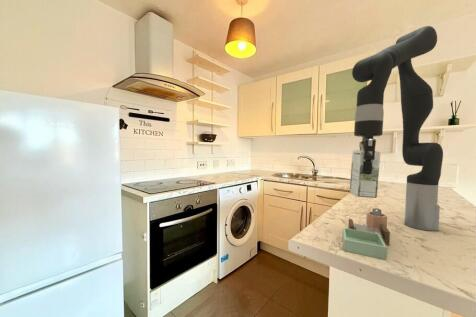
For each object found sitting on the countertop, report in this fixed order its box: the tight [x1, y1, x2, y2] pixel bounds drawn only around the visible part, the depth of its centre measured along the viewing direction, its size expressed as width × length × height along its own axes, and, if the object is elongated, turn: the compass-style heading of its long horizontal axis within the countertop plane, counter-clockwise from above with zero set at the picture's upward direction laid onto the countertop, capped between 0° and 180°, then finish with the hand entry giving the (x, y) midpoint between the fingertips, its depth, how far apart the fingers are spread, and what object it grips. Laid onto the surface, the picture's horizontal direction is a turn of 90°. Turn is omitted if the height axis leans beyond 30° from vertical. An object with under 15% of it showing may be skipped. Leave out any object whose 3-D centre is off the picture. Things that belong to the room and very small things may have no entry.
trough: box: [342, 227, 388, 260], centre depth 61 cm, size 10×10×3 cm
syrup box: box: [349, 150, 381, 199], centre depth 63 cm, size 6×6×14 cm
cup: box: [365, 211, 388, 231], centre depth 74 cm, size 6×6×6 cm
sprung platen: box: [354, 223, 382, 238], centre depth 68 cm, size 7×7×1 cm
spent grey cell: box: [371, 207, 382, 216], centre depth 74 cm, size 3×3×8 cm
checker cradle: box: [347, 218, 391, 246], centre depth 68 cm, size 11×8×4 cm
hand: (365, 173), depth 63 cm, fingers closed on syrup box, 6 cm apart
